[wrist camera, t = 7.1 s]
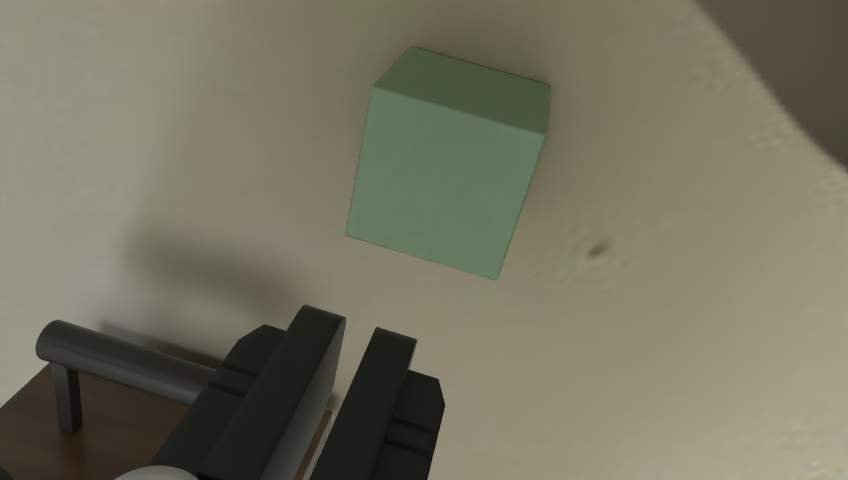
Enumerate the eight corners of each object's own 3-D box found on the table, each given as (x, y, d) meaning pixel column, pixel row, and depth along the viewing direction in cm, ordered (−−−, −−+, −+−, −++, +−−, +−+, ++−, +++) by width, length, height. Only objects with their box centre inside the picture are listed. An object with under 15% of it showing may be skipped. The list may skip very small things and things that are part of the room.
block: (410, 45, 20) (371, 85, 16) (552, 84, 20) (547, 135, 16) (383, 174, 22) (344, 236, 19) (509, 211, 22) (496, 282, 18)
